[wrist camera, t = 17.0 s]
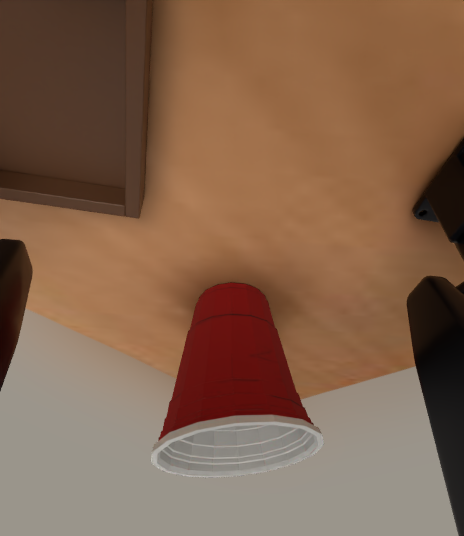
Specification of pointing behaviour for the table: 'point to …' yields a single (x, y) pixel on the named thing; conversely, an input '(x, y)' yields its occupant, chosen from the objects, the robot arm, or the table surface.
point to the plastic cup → (234, 394)
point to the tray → (75, 103)
